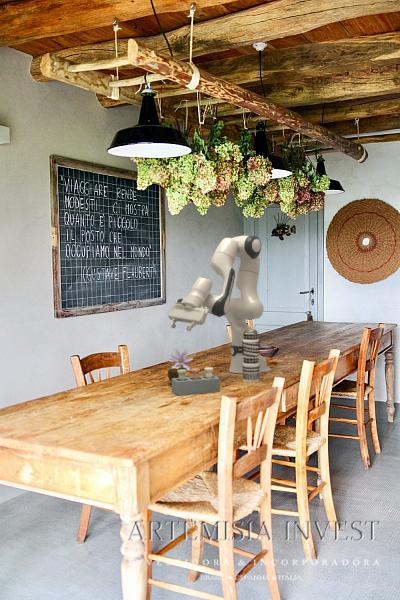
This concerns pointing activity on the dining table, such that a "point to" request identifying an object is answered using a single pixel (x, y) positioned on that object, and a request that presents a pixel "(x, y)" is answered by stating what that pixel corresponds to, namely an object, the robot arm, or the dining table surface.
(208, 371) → the cream button
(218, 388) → the grey slotted holder
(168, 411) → the dining table surface
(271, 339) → the dining table surface
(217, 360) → the dining table surface
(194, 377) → the terracotta button
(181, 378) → the sage button
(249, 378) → the decorative candle
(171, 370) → the potato
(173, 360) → the water lily
